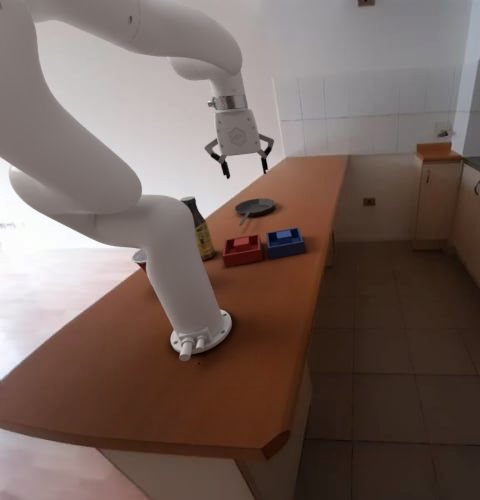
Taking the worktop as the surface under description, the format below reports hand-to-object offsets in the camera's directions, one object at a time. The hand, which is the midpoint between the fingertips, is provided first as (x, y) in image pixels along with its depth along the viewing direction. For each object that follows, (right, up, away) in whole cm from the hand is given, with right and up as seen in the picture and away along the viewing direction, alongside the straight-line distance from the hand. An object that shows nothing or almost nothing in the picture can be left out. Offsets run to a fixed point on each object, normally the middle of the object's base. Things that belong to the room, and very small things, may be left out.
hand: (247, 175), depth 75 cm
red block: (-6, -21, +15) cm, 27 cm away
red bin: (-6, -22, +15) cm, 27 cm away
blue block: (+7, -19, +18) cm, 27 cm away
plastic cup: (-23, -31, +3) cm, 38 cm away
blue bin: (+7, -19, +18) cm, 28 cm away
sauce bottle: (-19, -22, +17) cm, 34 cm away
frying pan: (-11, -6, +43) cm, 45 cm away
